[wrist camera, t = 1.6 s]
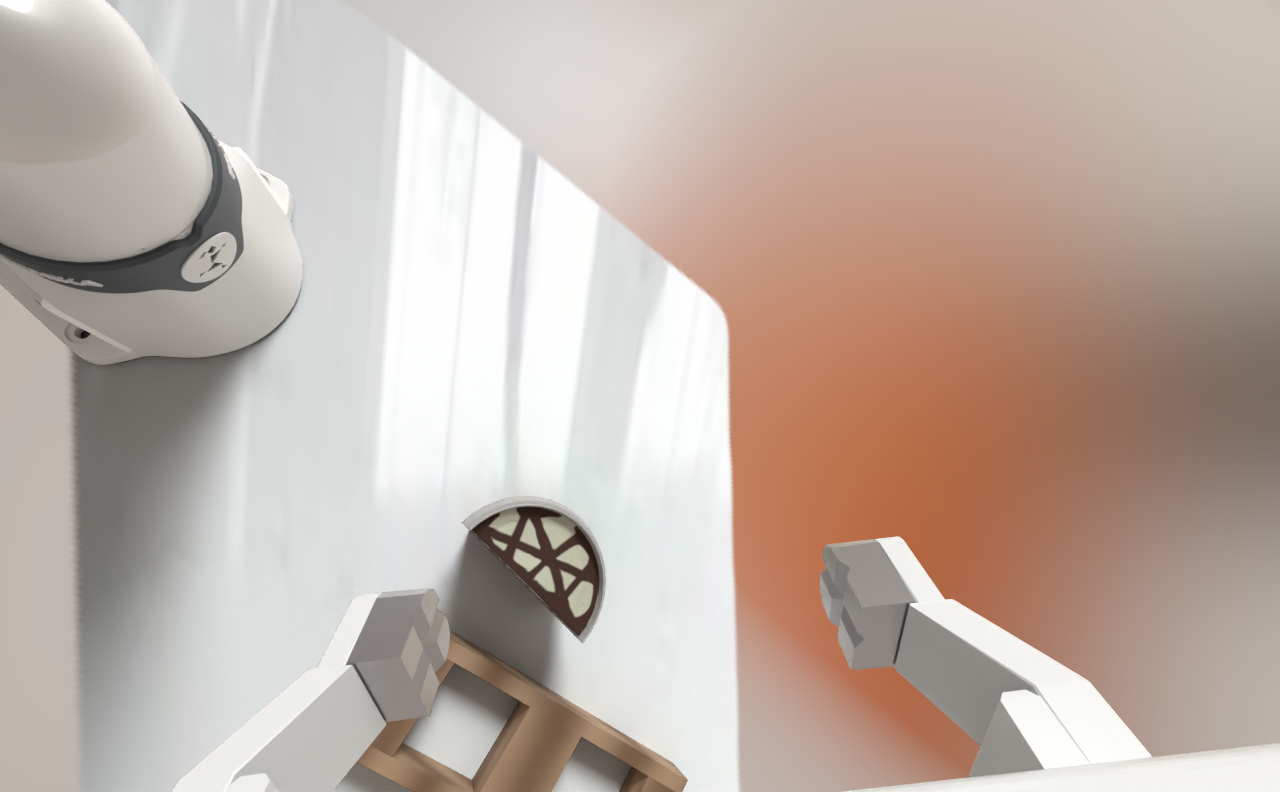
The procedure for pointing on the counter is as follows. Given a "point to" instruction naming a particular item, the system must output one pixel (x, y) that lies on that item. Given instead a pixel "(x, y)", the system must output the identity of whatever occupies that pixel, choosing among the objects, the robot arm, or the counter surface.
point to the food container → (547, 556)
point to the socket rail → (517, 740)
